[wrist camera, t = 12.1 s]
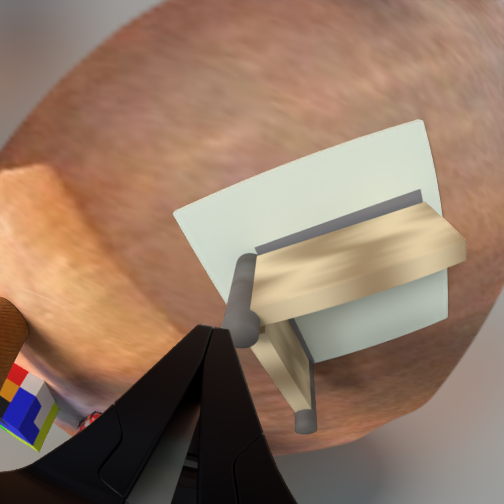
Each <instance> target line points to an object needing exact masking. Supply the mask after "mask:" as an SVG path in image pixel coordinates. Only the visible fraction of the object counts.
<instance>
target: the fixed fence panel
mask: <svg viewBox="0 0 504 504" xmlns="http://www.w3.org/2000/svg"><path fill="white" fill-rule="evenodd" d="M251 349H252V350H253V352H254V353H255V355H256V356H257V358H258V359H259V361H260V362H261V364H262V365H263V367H264V368H265V370H266V371H267V373H268V374H269V376H270V377H271V378H272V380H273V381H274V383H275V384H276V386H277V387H278V389H279V390H280V391H281V393H282V394H283V396H284V397H285V399H286V400H287V401H288V403H289V404H290V406H291V407H292V408H293V410H294V411H295V432H296V433H298V434H311V433H314V432H316V431H317V417H316V400H315V385H314V372H313V363H312V361H310V360H308V358H307V356H306V354H305V352H304V350H303V348H302V346H301V344H300V342H299V340H298V338H297V336H296V334H295V332H294V330H293V328H292V326H291V324H290V322H289V320H288V319H287V320H283V321H279V322H275V323H271V324H267V325H263V326H260V328H259V339H258V341H257V343H256V344H255V345H253V346H251Z"/></svg>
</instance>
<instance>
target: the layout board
mask: <svg viewBox="0 0 504 504" xmlns="http://www.w3.org/2000/svg"><path fill="white" fill-rule="evenodd" d="M422 202H426V203H427V204H428V205H429V206H431V207H432V208H433V209H434V210H435V211H436V212H437V213H438V214H439V215H441V216H442V210H441V203H440V197H439V190H438V185H437V179H436V174H435V169H434V164H433V159H432V155H431V150H430V146H429V142H428V138H427V134H426V130H425V127H424V123H423V120H419V119H418V120H414V121H411V122H408V123H404V124H401V125H397V126H394V127H391V128H388V129H384V130H381V131H378V132H375V133H372V134H369V135H365V136H362V137H359V138H356V139H353V140H350V141H347V142H344V143H341V144H339V145H336V146H333V147H330V148H327V149H324V150H322V151H319V152H316V153H313V154H310V155H308V156H305V157H302V158H300V159H297V160H294V161H292V162H289V163H286V164H284V165H281V166H279V167H276V168H274V169H271V170H268V171H266V172H263V173H261V174H258V175H256V176H254V177H251V178H249V179H246V180H244V181H241V182H239V183H237V184H234V185H232V186H229V187H227V188H225V189H222V190H220V191H218V192H215V193H213V194H211V195H209V196H206V197H204V198H202V199H200V200H197V201H195V202H193V203H191V204H188V205H186V206H184V207H182V208H180V209H177V210H176V211H175V212H174V213H173V215H174V217H175V219H176V221H177V222H178V224H179V226H180V227H181V229H182V231H183V233H184V234H185V236H186V238H187V240H188V241H189V243H190V245H191V246H192V248H193V250H194V252H195V253H196V255H197V257H198V258H199V260H200V262H201V263H202V265H203V267H204V268H205V270H206V272H207V273H208V275H209V277H210V278H211V280H212V282H213V283H214V285H215V287H216V288H217V290H218V291H219V293H220V295H221V296H222V298H223V299H224V301H225V303H226V304H227V302H228V297H229V293H230V288H231V284H232V280H233V275H234V271H235V267H236V263H237V260H238V258H239V257H240V256H241V255H243V254H246V253H253V254H257V255H258V256H259V255H262V254H265V253H268V252H271V251H274V250H277V249H281V248H284V247H287V246H290V245H293V244H296V243H299V242H302V241H305V240H309V239H312V238H315V237H318V236H321V235H324V234H327V233H330V232H333V231H336V230H340V229H343V228H346V227H349V226H352V225H355V224H358V223H361V222H364V221H367V220H370V219H373V218H377V217H380V216H383V215H386V214H389V213H392V212H395V211H398V210H401V209H404V208H407V207H410V206H413V205H416V204H419V203H422ZM446 318H448V283H447V268H446V269H443V270H440V271H438V272H435V273H432V274H430V275H427V276H424V277H422V278H419V279H416V280H413V281H410V282H408V283H405V284H402V285H399V286H396V287H393V288H390V289H387V290H384V291H381V292H378V293H375V294H372V295H369V296H366V297H363V298H360V299H356V300H353V301H350V302H347V303H343V304H340V305H337V306H333V307H330V308H326V309H323V310H320V311H316V312H313V313H309V314H305V315H302V316H298V317H294V318H291V319H288V320H289V322H290V324H291V326H292V328H293V330H294V332H295V334H296V336H297V338H298V340H299V342H300V344H301V346H302V348H303V350H304V352H305V354H306V356H307V358H308V360H310V361H312V363H313V364H314V363H317V362H321V361H325V360H328V359H332V358H336V357H339V356H342V355H346V354H349V353H352V352H356V351H359V350H362V349H365V348H368V347H372V346H375V345H378V344H381V343H383V342H386V341H389V340H392V339H395V338H398V337H400V336H403V335H406V334H409V333H411V332H414V331H417V330H419V329H422V328H424V327H427V326H429V325H432V324H434V323H437V322H439V321H441V320H444V319H446Z"/></svg>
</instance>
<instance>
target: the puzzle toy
mask: <svg viewBox="0 0 504 504" xmlns="http://www.w3.org/2000/svg"><path fill="white" fill-rule="evenodd" d="M58 411H59V408H58V406H57V404H56V402H55V400H54V399H53V397H52V395H51V393H50V391H49V389H48V387H47V384H46V382H45V381H44V380H42V379H41V378H39V377H37V376H35V375H33V374H32V373H30V372H28V371H26V370H25V369H23V368H21V367H20V366H18V365H16V364H15V363H13V365H12V367H11V370H10V372H9V374H8V376H7V378H6V380H5V383H4V384H3V387H2V389H1V391H0V427H1V428H2V429H4V430H5V431H6V432H8V433H9V434H11V435H12V436H14V437H15V438H17V439H18V440H20V441H21V442H23V443H25V444H26V445H28V446H29V447H31V448H33V449H34V450H36V451H38V452H39V451H40V449H41V447H42V445H43V442H44V440H45V438H46V436H47V434H48V432H49V430H50V428H51V426H52V423H53V421H54V419H55V417H56V415H57V413H58Z"/></svg>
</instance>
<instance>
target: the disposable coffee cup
mask: <svg viewBox="0 0 504 504" xmlns="http://www.w3.org/2000/svg"><path fill="white" fill-rule="evenodd" d="M28 335H29V329H28V326H27V323H26V321H25V320H24V318H23V316H22V315H21V314H20V312H19V311H18V310H17V309H16V308H15V307H14V306H13V305H12V304H11V303H10V302H9V301H7V300H6V299H4V298H2V297H0V391H1V389H2V387H3V384H4V383H5V380H6V378H7V376H8V374H9V372H10V370H11V367H12V365H13V363H14V361H15V359H16V357H17V355H18V353H19V351H20V349H21V348H22V346H23V344H24V342H25V340H26V338H27V336H28Z"/></svg>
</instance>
